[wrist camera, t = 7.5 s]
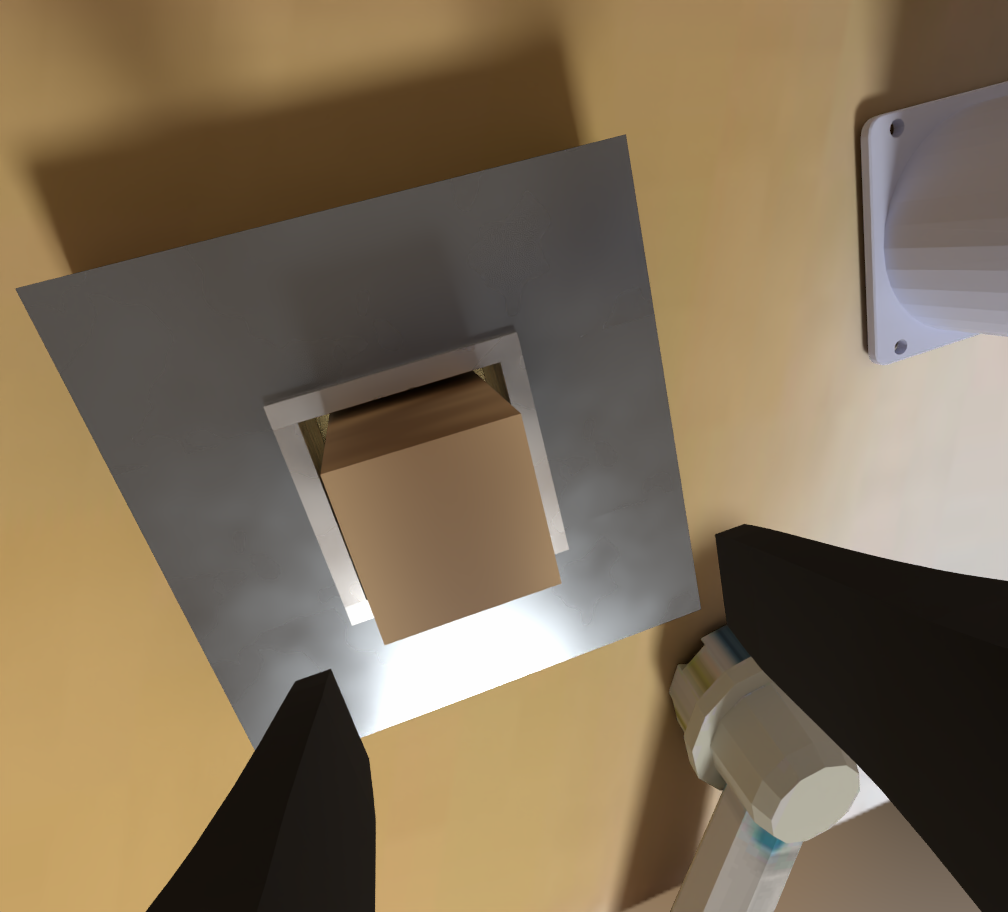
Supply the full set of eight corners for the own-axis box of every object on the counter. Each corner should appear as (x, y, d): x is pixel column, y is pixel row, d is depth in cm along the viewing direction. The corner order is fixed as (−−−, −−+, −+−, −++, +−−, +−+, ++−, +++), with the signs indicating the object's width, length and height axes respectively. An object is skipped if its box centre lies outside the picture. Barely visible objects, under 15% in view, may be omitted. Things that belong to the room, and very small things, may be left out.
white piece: (607, 1169, 27) (801, 772, 17) (562, 988, 33) (686, 615, 23) (712, 1140, 28) (949, 757, 18) (650, 971, 34) (804, 612, 24)
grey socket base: (582, 155, 17) (629, 132, 14) (657, 566, 22) (704, 612, 19) (75, 284, 16) (10, 288, 13) (278, 703, 20) (265, 778, 17)
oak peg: (461, 360, 18) (520, 413, 12) (493, 478, 20) (561, 583, 13) (332, 398, 18) (320, 474, 11) (373, 517, 19) (384, 645, 13)
